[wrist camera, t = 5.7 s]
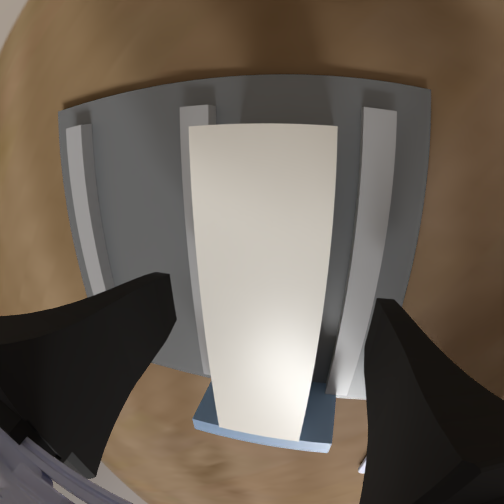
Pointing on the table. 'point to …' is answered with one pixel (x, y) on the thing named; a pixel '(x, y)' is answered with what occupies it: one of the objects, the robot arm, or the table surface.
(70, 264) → the table surface
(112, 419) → the robot arm
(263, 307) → the cream rectangular block
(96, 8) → the table surface
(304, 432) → the board
